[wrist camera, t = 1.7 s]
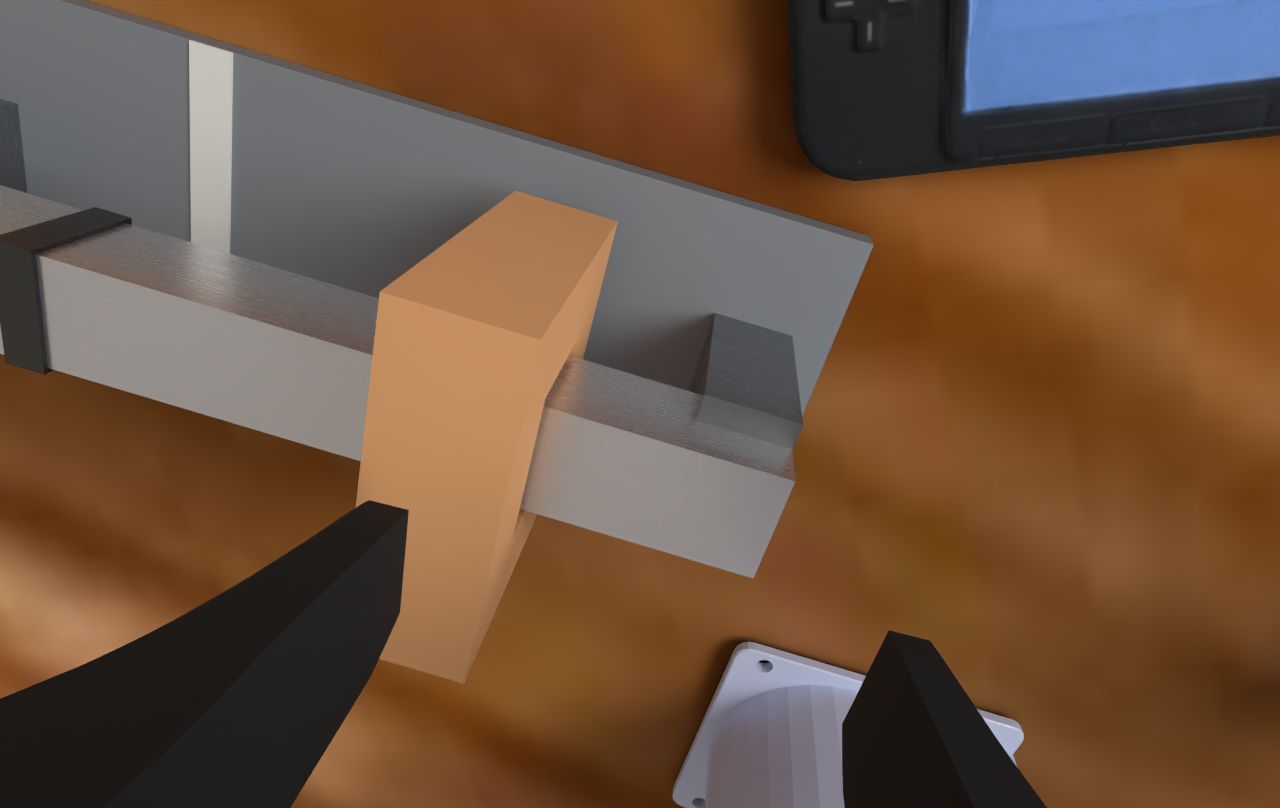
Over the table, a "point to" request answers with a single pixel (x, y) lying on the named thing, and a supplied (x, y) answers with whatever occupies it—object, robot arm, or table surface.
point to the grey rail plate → (341, 366)
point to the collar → (472, 409)
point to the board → (392, 185)
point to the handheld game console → (1025, 79)
